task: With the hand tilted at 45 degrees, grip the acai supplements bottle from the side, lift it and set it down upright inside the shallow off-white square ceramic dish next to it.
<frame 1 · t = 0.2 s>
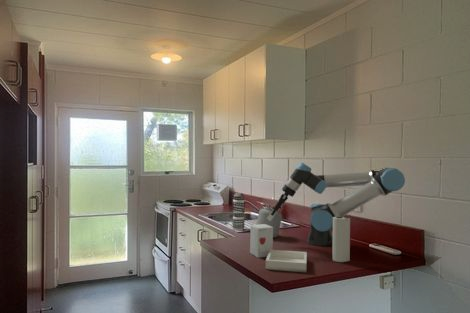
hand: (269, 218, 193), 16 cm above the counter, tool tilted 35°, fingers open, 13 cm apart
jar: (269, 236, 215), on the counter
ceramic dish: (286, 264, 159), on the counter
paper towel roll: (339, 261, 166), on the counter
decorative candle: (238, 229, 237), on the counter
supplement box: (261, 255, 175), on the counter
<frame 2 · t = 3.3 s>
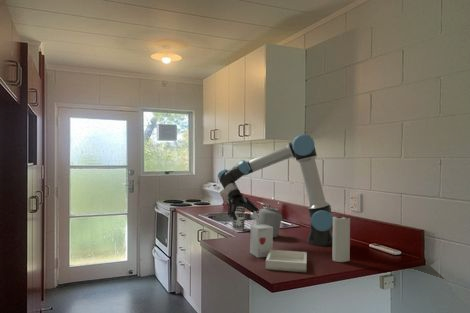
hand: (249, 223, 182), 15 cm above the counter, tool tilted 45°, fingers open, 13 cm apart
nothing on the counter moved.
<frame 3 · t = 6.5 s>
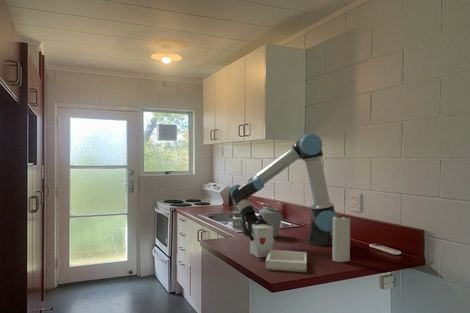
hand: (265, 244, 173), 6 cm above the counter, tool tilted 45°, fingers closed on supplement box, 10 cm apart
supplement box: (261, 255, 175), on the counter, touching gripper
everything else where it was.
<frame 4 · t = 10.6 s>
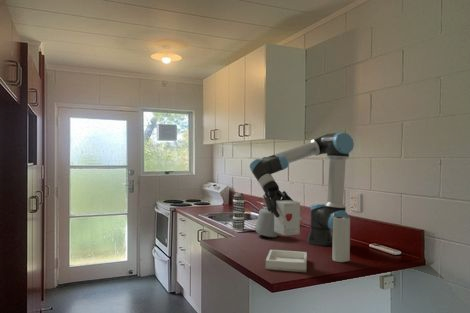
hand: (291, 221, 157), 21 cm above the counter, tool tilted 45°, fingers closed on supplement box, 10 cm apart
supplement box: (286, 233, 160), point 15 cm above the counter, touching gripper
everything else where it was.
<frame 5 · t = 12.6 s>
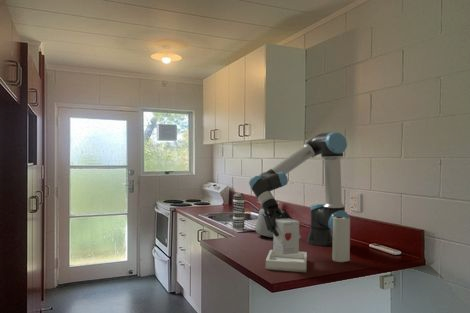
hand: (290, 240, 157), 12 cm above the counter, tool tilted 45°, fingers closed on supplement box, 10 cm apart
supplement box: (285, 252, 159), point 6 cm above the counter, touching gripper
everything else where it was.
when the fingers open (8 cm above the counter, at t = 14.6 s): supplement box drops 1 cm, resting on ceramic dish.
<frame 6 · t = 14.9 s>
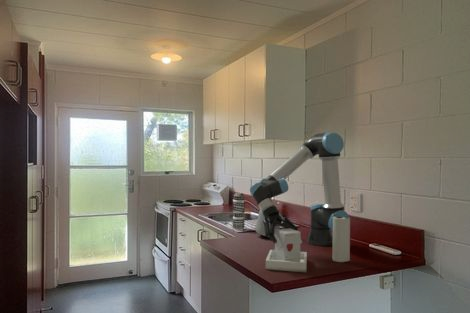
hand: (290, 246, 158), 9 cm above the counter, tool tilted 45°, fingers open, 13 cm apart
supplement box: (287, 262, 160), point 1 cm above the counter, touching ceramic dish
everything else where it was.
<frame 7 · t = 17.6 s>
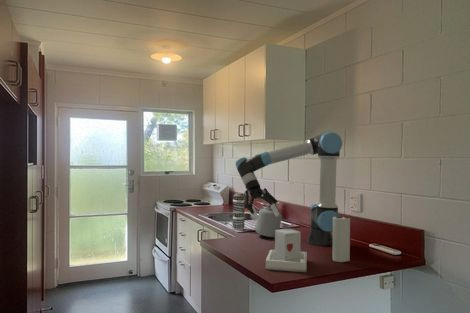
hand: (267, 217, 172), 20 cm above the counter, tool tilted 40°, fingers open, 13 cm apart
nothing on the counter moved.
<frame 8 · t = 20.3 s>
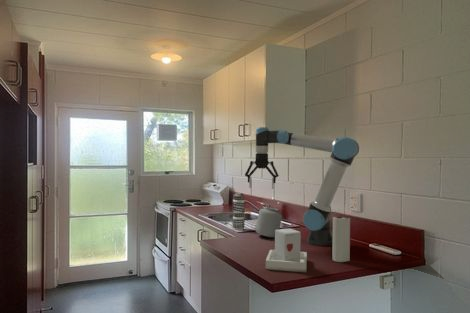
hand: (261, 188, 203), 32 cm above the counter, tool pointing down, fingers open, 13 cm apart
nothing on the counter moved.
at the end: supplement box inside the target area on the ceramic dish (0.3 cm from its centre), point 0.8 cm above the ceramic dish's base; supplement box tilted 0°; the gripper is holding nothing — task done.
